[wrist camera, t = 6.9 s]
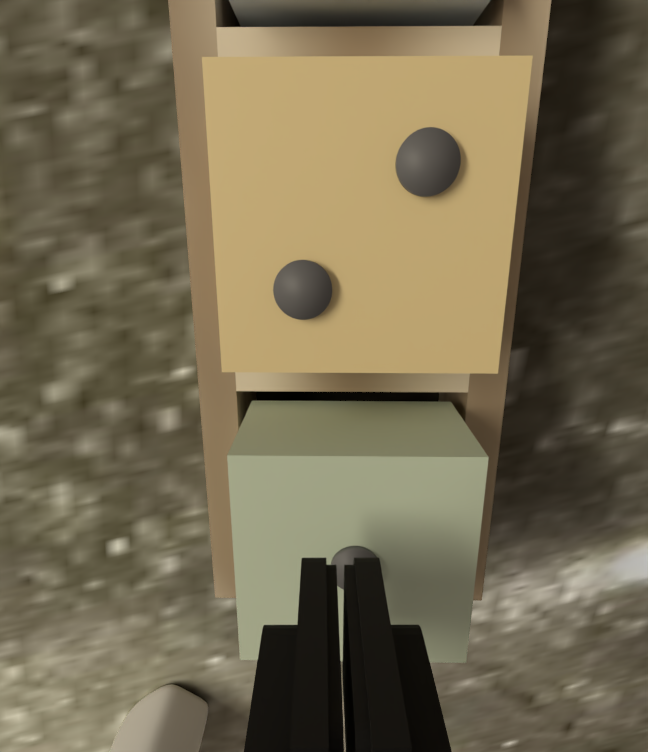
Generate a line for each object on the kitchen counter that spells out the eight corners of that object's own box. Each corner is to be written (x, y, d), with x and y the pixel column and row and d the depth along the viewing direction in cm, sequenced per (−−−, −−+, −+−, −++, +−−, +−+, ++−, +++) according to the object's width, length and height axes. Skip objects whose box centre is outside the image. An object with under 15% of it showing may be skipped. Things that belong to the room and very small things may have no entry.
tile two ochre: (475, 104, 12) (537, 52, 9) (456, 336, 14) (500, 376, 10) (238, 104, 12) (198, 52, 9) (249, 335, 14) (219, 375, 10)
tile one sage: (450, 401, 15) (491, 460, 11) (437, 569, 16) (468, 669, 13) (251, 400, 15) (225, 459, 11) (259, 567, 17) (238, 666, 13)
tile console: (528, -249, 13) (600, -423, 9) (455, 535, 20) (481, 600, 16) (187, -245, 13) (135, -415, 10) (235, 533, 20) (215, 597, 17)
